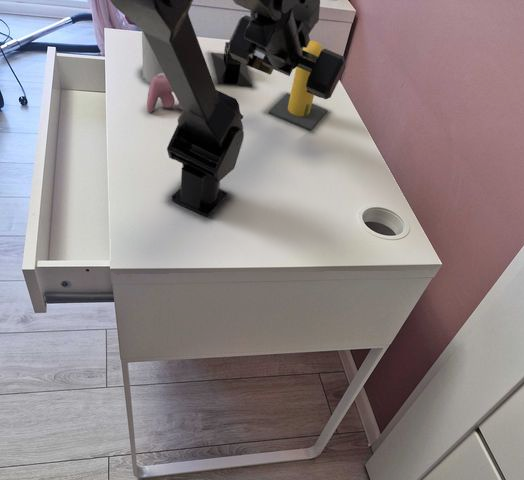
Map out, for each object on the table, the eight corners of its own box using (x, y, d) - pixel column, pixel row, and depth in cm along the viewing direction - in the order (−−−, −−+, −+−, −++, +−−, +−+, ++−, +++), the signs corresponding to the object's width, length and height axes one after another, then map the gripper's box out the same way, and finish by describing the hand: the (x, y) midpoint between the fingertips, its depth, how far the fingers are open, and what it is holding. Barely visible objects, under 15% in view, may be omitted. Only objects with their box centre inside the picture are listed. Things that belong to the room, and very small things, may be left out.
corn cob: (314, 115, 97) (332, 47, 87) (296, 118, 95) (312, 49, 85) (300, 102, 99) (316, 34, 89) (282, 105, 97) (296, 36, 87)
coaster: (310, 130, 94) (310, 128, 94) (268, 113, 96) (268, 111, 95) (327, 111, 100) (327, 109, 99) (286, 95, 101) (287, 93, 100)
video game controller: (202, 122, 93) (207, 80, 89) (199, 123, 89) (205, 79, 85) (149, 110, 92) (153, 68, 89) (144, 111, 88) (147, 66, 85)
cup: (194, 78, 99) (198, 22, 91) (169, 92, 94) (170, 35, 86) (160, 61, 100) (160, 5, 92) (133, 75, 95) (131, 17, 87)
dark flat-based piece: (210, 54, 106) (212, 30, 102) (244, 58, 107) (247, 34, 104) (217, 84, 99) (219, 59, 95) (253, 87, 100) (257, 63, 97)
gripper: (361, -1, 70) (363, 57, 85) (247, -46, 73) (269, 17, 88) (323, 75, 71) (332, 119, 87) (213, 27, 75) (240, 78, 90)
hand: (293, 81), depth 88 cm, fingers open, 9 cm apart
